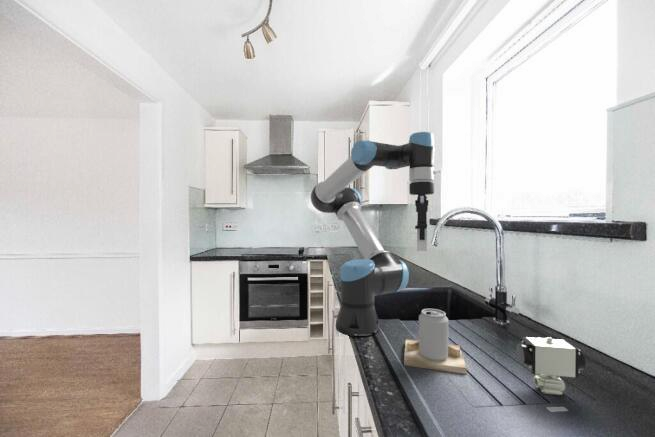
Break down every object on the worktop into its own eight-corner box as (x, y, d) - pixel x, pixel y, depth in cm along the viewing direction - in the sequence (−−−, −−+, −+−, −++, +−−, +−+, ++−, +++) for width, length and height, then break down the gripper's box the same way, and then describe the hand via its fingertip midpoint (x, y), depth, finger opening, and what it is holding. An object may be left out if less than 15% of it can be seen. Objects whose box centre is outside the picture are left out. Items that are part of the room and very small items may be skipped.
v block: (405, 344, 89) (405, 332, 89) (459, 350, 85) (459, 338, 84) (404, 365, 76) (404, 351, 76) (466, 374, 72) (466, 360, 72)
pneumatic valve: (586, 400, 62) (586, 344, 62) (524, 393, 64) (525, 339, 64) (570, 385, 67) (570, 333, 67) (514, 379, 70) (514, 330, 69)
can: (424, 346, 84) (424, 305, 84) (451, 354, 79) (452, 310, 79) (414, 356, 78) (414, 312, 78) (442, 365, 73) (443, 318, 73)
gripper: (436, 176, 80) (436, 253, 80) (432, 185, 104) (431, 244, 104) (408, 177, 82) (408, 252, 83) (410, 186, 106) (410, 244, 106)
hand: (421, 248), depth 93 cm, fingers open, 13 cm apart
